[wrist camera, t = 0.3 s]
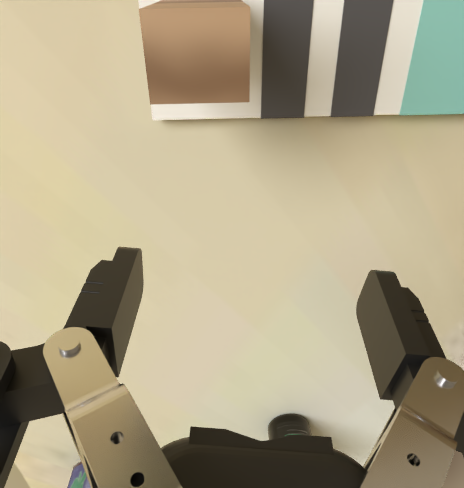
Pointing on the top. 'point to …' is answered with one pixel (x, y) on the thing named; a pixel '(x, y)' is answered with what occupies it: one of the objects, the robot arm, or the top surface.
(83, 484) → the flask
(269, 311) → the top surface
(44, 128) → the top surface
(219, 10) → the slider block
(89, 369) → the robot arm
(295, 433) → the supplement bottle
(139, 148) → the top surface
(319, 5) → the track
